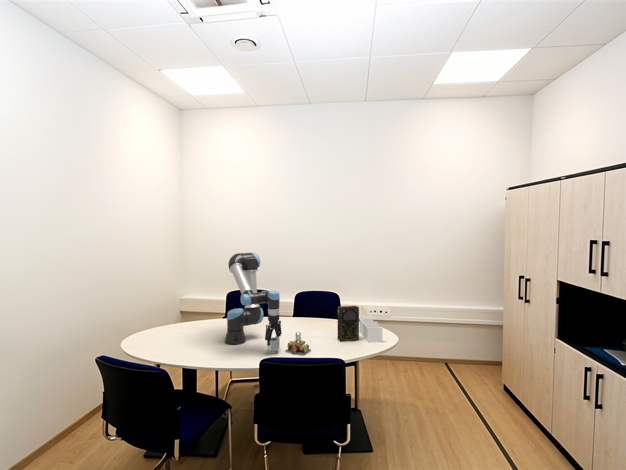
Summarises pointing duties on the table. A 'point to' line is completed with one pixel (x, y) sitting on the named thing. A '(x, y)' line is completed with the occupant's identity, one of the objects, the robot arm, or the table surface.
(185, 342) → the table surface
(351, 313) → the voltmeter
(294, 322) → the table surface
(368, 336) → the storage container
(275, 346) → the coupling
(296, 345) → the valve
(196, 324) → the table surface
